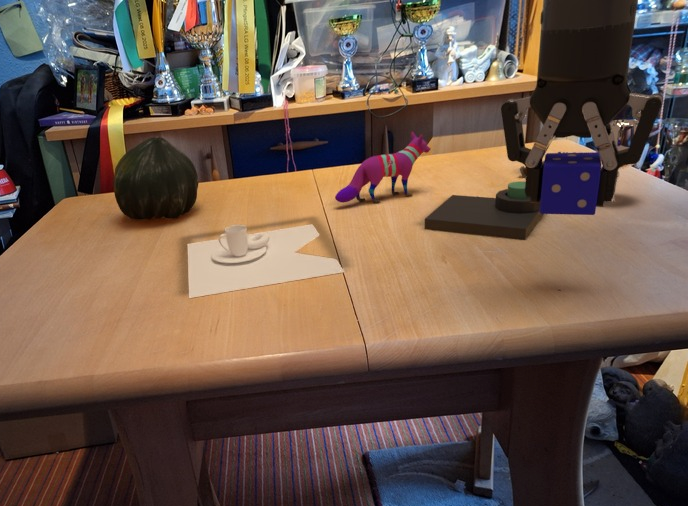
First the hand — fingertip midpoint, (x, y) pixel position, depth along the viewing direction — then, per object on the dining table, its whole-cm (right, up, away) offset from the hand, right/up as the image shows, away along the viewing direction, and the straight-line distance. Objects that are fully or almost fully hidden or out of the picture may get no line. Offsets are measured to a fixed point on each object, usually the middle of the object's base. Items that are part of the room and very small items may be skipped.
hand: (567, 201), depth 58 cm
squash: (-51, +5, +45) cm, 68 cm away
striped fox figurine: (-12, +7, +40) cm, 42 cm away
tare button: (+5, +5, +24) cm, 25 cm away
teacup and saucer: (-33, -4, +22) cm, 40 cm away
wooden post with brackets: (+17, +11, +41) cm, 46 cm away
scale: (0, +2, +25) cm, 25 cm away
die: (0, -1, 0) cm, 1 cm away
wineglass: (+19, +4, +25) cm, 32 cm away
